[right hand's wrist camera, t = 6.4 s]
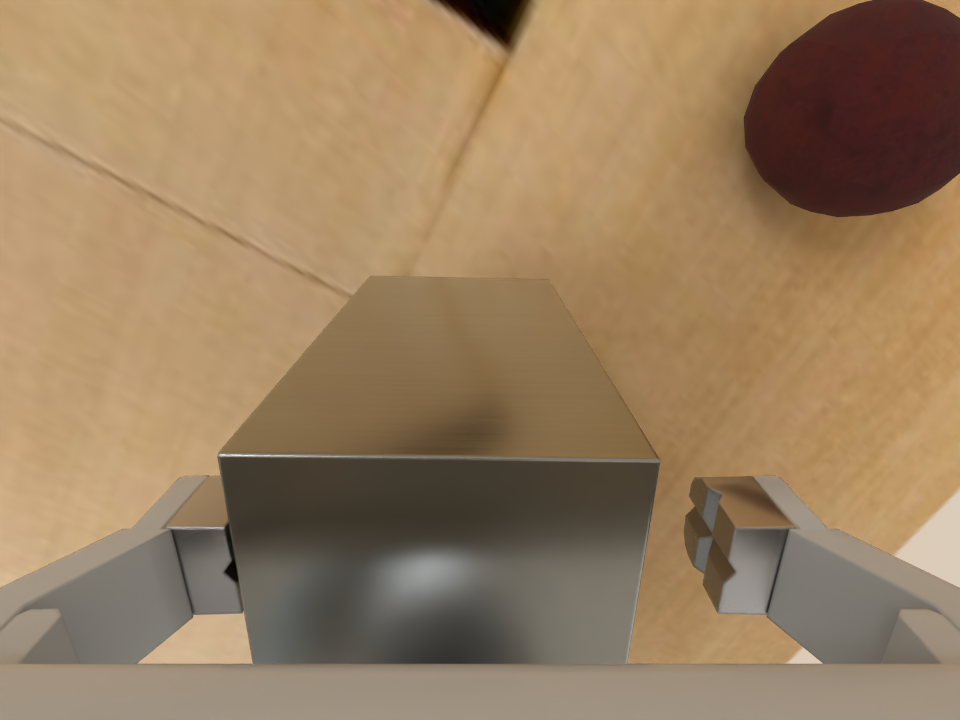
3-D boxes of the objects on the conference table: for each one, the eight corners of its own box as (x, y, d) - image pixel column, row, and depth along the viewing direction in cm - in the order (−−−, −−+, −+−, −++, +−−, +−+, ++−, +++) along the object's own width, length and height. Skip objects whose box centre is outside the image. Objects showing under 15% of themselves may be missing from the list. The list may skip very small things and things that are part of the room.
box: (369, 275, 19) (215, 453, 8) (549, 279, 19) (662, 459, 8) (391, 724, 27) (332, 1137, 16) (518, 725, 27) (550, 1135, 16)
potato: (871, 207, 25) (1016, 227, 18) (703, 207, 25) (787, 227, 18) (918, 22, 22) (1107, -35, 16) (730, 21, 22) (840, -37, 15)
